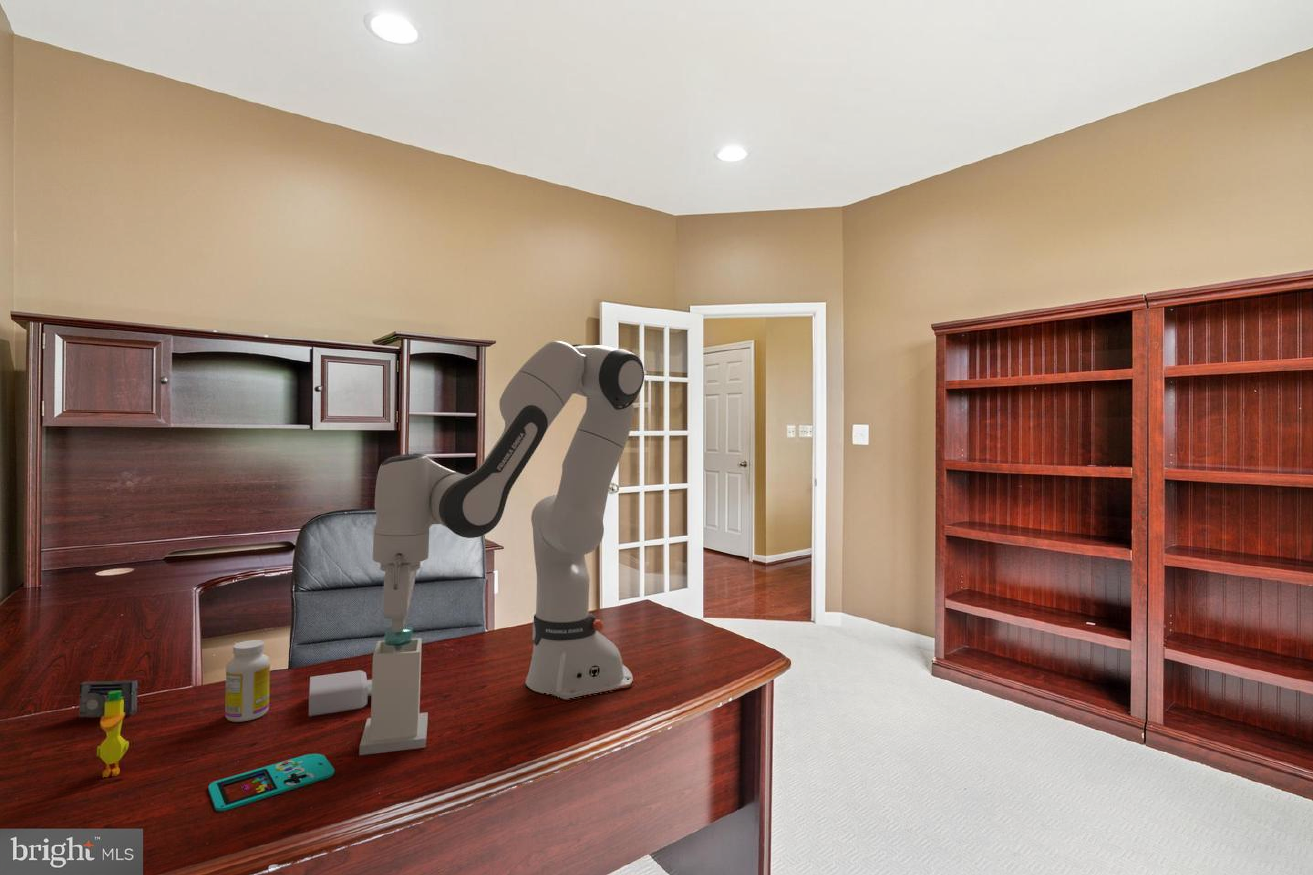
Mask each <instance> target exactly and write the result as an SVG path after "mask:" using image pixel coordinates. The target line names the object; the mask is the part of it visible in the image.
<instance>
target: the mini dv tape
mask: <svg viewBox="0 0 1313 875" xmlns="http://www.w3.org/2000/svg"><path fill="white" fill-rule="evenodd" d="M118 690H121V691H122V693H121V696H122V697H124V698H123V700H124V710H123V712H124V713H125V716H124V717H132V716H133V715H135V714H136V713H137V712H138V680H107V681H105V680H103V681H102V680H101V681H99V680H97V681H84V682H82V683H80V684H79V698H78V699H79V701H78V702H79V704H78V709H79V710H78V718H79V717H87V718H95V717H94V716H98V717H97V718H102V716H104V714H105V702H106V701H105V700H106V699H109V696H108V693H109V692H112V691H118Z"/></svg>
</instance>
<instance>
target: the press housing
mask: <svg viewBox="0 0 1313 875" xmlns="http://www.w3.org/2000/svg"><path fill="white" fill-rule="evenodd" d="M422 640H423V638H419V637H418V638H412V642H411V643H409V644H405V645H403V652H396V653H393V646H390V645H386V644H385V640H377V642H376V645H375V649H374V651H373V653H372V654H373V655H372V667H371V668H372V670H371V671H372V674H371V679H372V695H371V701H370V704H371V708H370V717H368V718H367V719H366V722H365V726H364V729H363V733H362V736H361V741H360V744H359V754H358V755H359V756H364V755H371V754H372V755H375V754H381V753H388V752H389V753H391V752H397V751H399V752H400V751H407V750H416V749H423V748H424V749H425V748H426V747H427V746H426V745H427V732H428V721H429V719H428V717H429V712H428V711H427V712H420V705H421V675H422V674H421V672H422V648H423V647H422V642H423V641H422Z"/></svg>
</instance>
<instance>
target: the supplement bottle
mask: <svg viewBox="0 0 1313 875" xmlns="http://www.w3.org/2000/svg"><path fill="white" fill-rule="evenodd" d="M232 648H233V649H232V654H233V655H234V657H233V658H231V659H230V660H229V661H228V662H227V664H226V667H225V698H224V699H225V701H224V702H225V703H224V705H225V707H224V708H225V709H224V712H225V713H224V716H225V718H226V719H227V720H228V721H231V722H232V723H233V722H235V723H236V722H237V723H238V722H239V723H240V722H246V721H251V720H252V721H253V720H255V719H258V718H260V717H262V716H265V714H267V713H268V711H269V707H270V679H271V678H270V677H271V676H270V675H271V674H270V671H271V664H270V663H271V662H270V657H269V655H266V654H265V653H263V652H264V649H265V642H264V641H263V640H259V639H253V640H252V639H251V640H245V641H241V642H237V643H235V644H234V645H233V646H232Z"/></svg>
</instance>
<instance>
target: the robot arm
mask: <svg viewBox="0 0 1313 875" xmlns="http://www.w3.org/2000/svg"><path fill="white" fill-rule="evenodd" d="M644 381H645V368H644V365H643V362H642V360H641V359H640V357H639V356H638V355H636V354H635V353H633V352H631V351H629V350H627V349H624V348H614V347H611V346H606V345H601V344H598V345H591V344H590V345H589V344H588V345H584V344H577V343H576V344H569V343H568V342H565V341H562V340H553V341H550V342H548V343H546V344H545V345H544V346H542V347H541V348H539V350H538V351H536V352H535V353H534V354H533V355H532V356H531V357H530V358H529V359H528V360H527V361H526V362H525V363H524V364H523V365H522V366H521V367H520V369H519V370H518V371H517V372H516V373H515V374H514V376H513V377H512V378H511V379H510V381H509V382H508V383H507V385H506V386H505V388H504V390H503V392H502V394H501V397H500V398H499V411H500V414H501V416H502V419H503V420H504V429H503V431H502V434H501V436H500V437H499V438H498V440H497V441H496V443H495V444H494V445H493V447H492V449H491V450H490V452H489V453H488V454H487V455H486V458H484V460H483V462H482V463H481V465H480V466H479V467H478V468H477V469H476V470H475V471H473V472H471V473H469V474H464V473H461V472H458V471H455V470H452V469H450V468H447V467H445V466H443V465H441V464H439V463H437V462H435V461H434V460H432V458H430V457H428V455H427V454H424V453H405V454H398V455H394V456H391V457H387V458H386V459H385V460H384V461H383V462H382V463H381V464H380V466H379V469H378V471H377V472H378V473H377V476H376V483H375V492H374V494H375V495H374V510H375V514H376V522H375V525H374V528H373V537H372V538H373V540H372V544H373V545H372V561H373V562H375V563H379V564H380V571H382V572H384V578H383V579H384V580H383V589H382V590H383V592H382V611H381V612H382V618H384V619H387V620H389V619H390V620H391V627H392V631H393V632H394V633H396V632H402V631H403V630H404V626H406V625H405V624H406V623H405V622H406V617H407V615H408V613H409V607H410V603H411V599H412V594H413V589H414V586H415V584H416V583H415V582H416V577H417V571H418V570H420V569H421V562H423V561H426V560H428V559H429V549H430V545H429V544H430V528H431V527H432V526H433V525H441V526H443V527H445V528H447V529H448V530H449V531H451V532H452V533H454V534H455V535H456V536H459V537H462V538H466V539H467V538H468V539H474V538H480V537H483V536H484V535H486V534H488V533H490V532H491V531H492V530H494V529H495V528H496V526H497V525H499V523H500V520H501V519H502V517H503V515H504V512H505V508H506V504H507V500H508V497H509V494H510V492H511V489H512V488H513V486H514V484H515V483H516V481H517V479H518V478H519V477H520V475H521V474H522V472H523V471H524V470H525V468H526V466H527V464H528V463H529V461H530V460H531V458H532V456H533V455H534V453H535V451H536V450H537V448H538V447H539V445H540V443H541V442H542V440H543V439H544V436H545V435H546V432H547V430H548V429H549V427H550V426H551V424H553V422H554V420H555V419H556V418H557V416H558V415H559V414H560V413H561V411H562V410H563V408H564V407H565V405H566V404H567V403H568V402H569V400H570V398H571V397H572V396H573V394H577V395H579V396H583V397H584V398H585V397H586V408H585V412H584V413H583V415H582V417H581V419H580V421H579V424H578V426H577V427H576V430H575V432H574V435H573V437H572V440H571V442H570V445H569V447H568V449H567V452H566V454H565V456H564V459H563V461H562V464H561V468H562V469H561V470H562V471H561V477H560V482H559V485H558V489H557V490H558V491H557V494H554V495H550V496H546V497H544V498H542V499H541V500H539V501H538V502H537V503H536V504H535V506H534V507H533V509H532V511H531V516H530V521H531V526H532V540H533V552H534V562H535V571H536V596H535V597H536V601H535V603H536V604H535V606H536V607H535V614H534V615H533V621H532V642H533V650H532V656H531V661H530V665H529V669H528V673H527V675H526V676H527V677H526V679H525V685H526V686H527V687H528V688H529V689H530V690H532V691H533V692H537V693H539V694H544V693H546V694H545V695H549V694H553V695H552V696H554V695H555V696H554V697H556V696H557V698H559V697H560V698H559V699H561V698H562V699H563V700H570V699H569V698H573V697H578V696H582V695H586V694H591V693H598V692H601V691H606V690H611V689H614V688H619V687H623V686H627V685H630V684H631V683H632V681H633V682H634V678H633V674H632V671H630V669H629V668H628V667H627V666H625V665H624V664H623V660H622V655H621V653H620V650H619V649H618V647H617V646H616V645H615V643H613V642H612V641H611V640H609V639H608V638H606V636H604V635H603V634H602V633H600V631H602V629H603V628H604V623H603V621H602V620H601V619H600V618H598V617H597V616H595V615H593V614H592V613H591V612H589V607H590V582H591V581H590V580H591V579H590V574H589V571H588V568H587V563H586V556H585V555H588V554H591V553H592V552H594V551H595V550H597V548H598V547H599V545H600V544H601V542H602V540H603V537H604V533H605V529H604V528H605V527H604V518H605V517H604V515H605V511H606V506H607V501H608V500H607V499H608V496H609V491H610V487H611V483H612V480H613V477H614V475H615V471H616V470H617V467H618V465H619V462H620V459H621V457H622V454H623V452H624V451H625V448H626V444H627V443H628V442H627V441H628V438H629V436H630V432H631V429H632V424H633V420H634V414H635V406H634V404H633V403H634V402H635V401H636V399H637V397H638V395H639V394H640V392H641V390H642V387H643V385H644ZM627 679H629V680H627ZM578 698H579V697H578ZM562 699H561V700H562ZM573 699H574V698H573Z"/></svg>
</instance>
